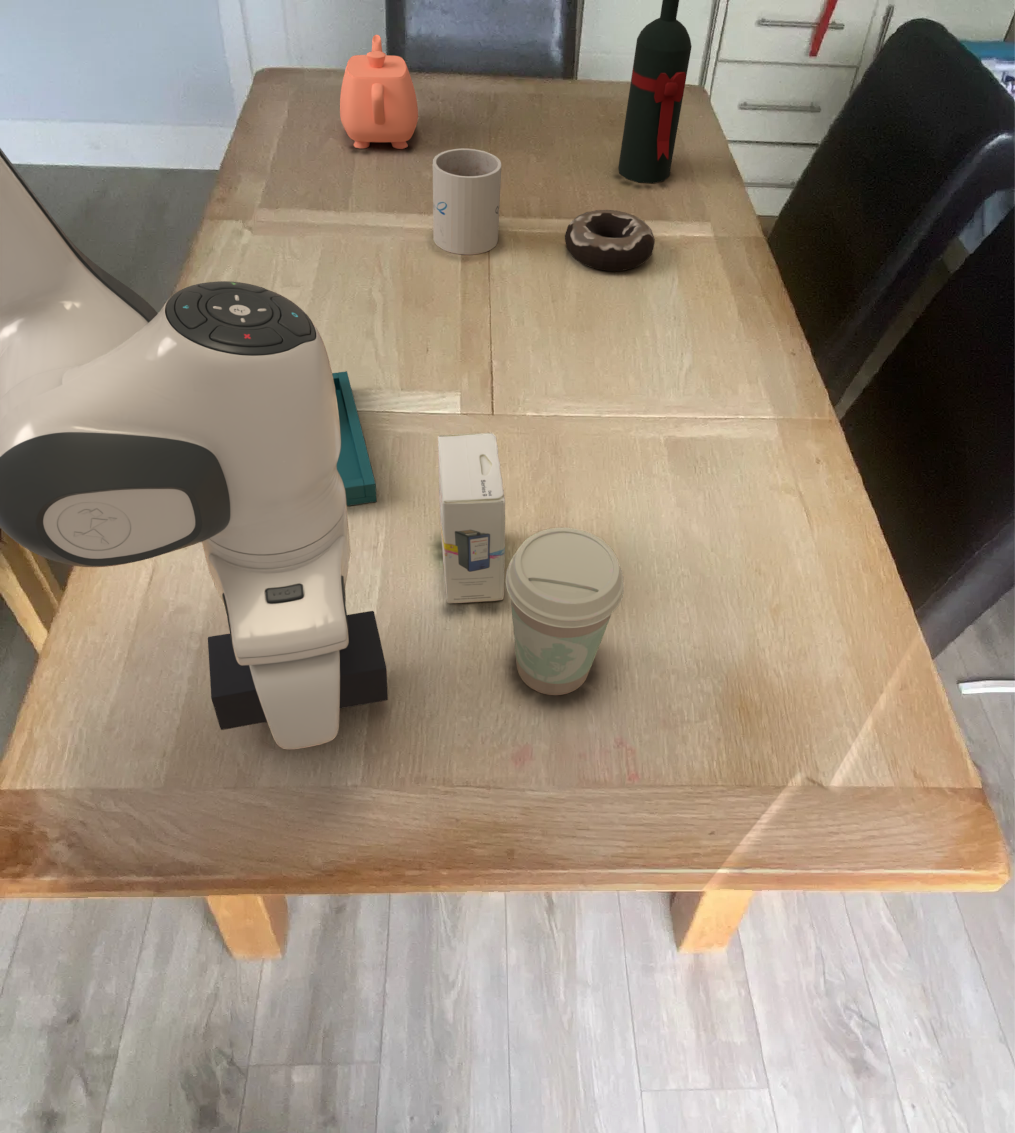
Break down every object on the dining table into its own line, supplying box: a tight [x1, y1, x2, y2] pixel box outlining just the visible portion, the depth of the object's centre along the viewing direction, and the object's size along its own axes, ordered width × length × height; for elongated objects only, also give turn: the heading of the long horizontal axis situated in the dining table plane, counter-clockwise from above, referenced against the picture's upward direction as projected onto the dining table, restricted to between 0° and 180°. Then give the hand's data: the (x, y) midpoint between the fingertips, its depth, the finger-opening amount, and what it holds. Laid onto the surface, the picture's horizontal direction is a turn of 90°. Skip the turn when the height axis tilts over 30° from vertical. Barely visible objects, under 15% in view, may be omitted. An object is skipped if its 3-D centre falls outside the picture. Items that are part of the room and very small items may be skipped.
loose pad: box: [207, 610, 389, 731], centre depth 66 cm, size 12×6×4 cm, turn 105°
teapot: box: [339, 34, 419, 150], centre depth 137 cm, size 20×12×12 cm, turn 6°
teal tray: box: [332, 370, 378, 507], centre depth 88 cm, size 17×18×2 cm
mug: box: [432, 148, 502, 256], centre depth 118 cm, size 12×9×10 cm
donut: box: [564, 209, 656, 272], centre depth 118 cm, size 12×12×4 cm
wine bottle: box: [618, 0, 692, 184], centre depth 126 cm, size 8×10×30 cm
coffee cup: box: [505, 526, 625, 696], centre depth 68 cm, size 8×8×12 cm
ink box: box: [437, 432, 506, 604], centre depth 75 cm, size 9×5×12 cm, turn 6°
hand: (299, 671), depth 66 cm, fingers closed on loose pad, 5 cm apart
